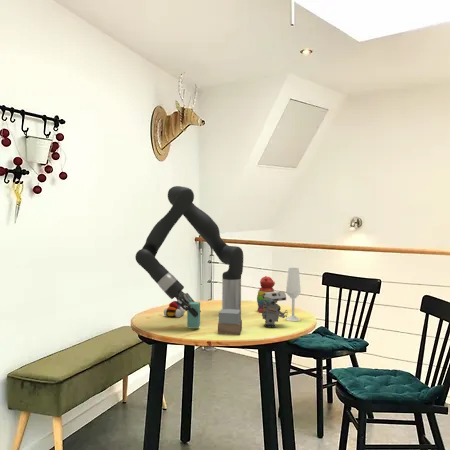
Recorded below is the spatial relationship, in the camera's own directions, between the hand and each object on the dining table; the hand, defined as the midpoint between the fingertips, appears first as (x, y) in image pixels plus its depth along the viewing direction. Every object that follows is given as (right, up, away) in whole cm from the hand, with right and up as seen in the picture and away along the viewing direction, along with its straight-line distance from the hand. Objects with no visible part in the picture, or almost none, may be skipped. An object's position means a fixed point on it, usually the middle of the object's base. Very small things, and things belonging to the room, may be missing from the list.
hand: (198, 314), depth 202 cm
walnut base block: (+14, -7, -4) cm, 16 cm away
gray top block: (+14, -2, -4) cm, 14 cm away
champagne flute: (+43, -6, +20) cm, 48 cm away
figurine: (+33, -7, +7) cm, 35 cm away
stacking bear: (+33, -6, +38) cm, 50 cm away
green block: (-2, -5, 0) cm, 6 cm away
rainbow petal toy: (-13, -6, +26) cm, 30 cm away
